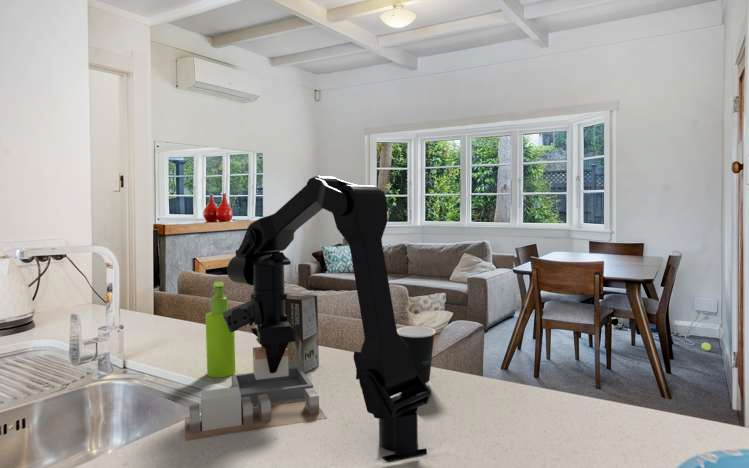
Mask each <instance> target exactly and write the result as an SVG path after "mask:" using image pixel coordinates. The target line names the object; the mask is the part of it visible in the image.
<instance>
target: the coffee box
mask: <svg viewBox="0 0 749 468" xmlns="http://www.w3.org/2000/svg"><path fill="white" fill-rule="evenodd" d="M285 293H286V294H287V300H285V314H286V315H287V321H286V322H287V323H288V324H289V325H291V326H292V327H293V328H294V329H295V331H296V341H294V342H289V344H288V346H287V349H288V368H296V367H300V368H301V369H302V371H303V372H304V373H306V372H309V371H310V370H313V369H315V368H316V367H319V366H320V357H319V356H320V354H319V353H320V352H319V349H320V348H319V315H318V314H319V313H318V295H315V294H314V295H313V294H302V293H291V292H285Z"/></svg>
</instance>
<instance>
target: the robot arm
mask: <svg viewBox="0 0 749 468" xmlns="http://www.w3.org/2000/svg"><path fill="white" fill-rule="evenodd" d="M322 210H325V211H328V212H330V213H332V215H333V218H334V219H333V220H334V222H335V227H336V229H337V231H338V232H339V233H340V234H341V236H342V237H343V238H344V240H345V241H346V243H347V244H348V246H349V250H350V256H351V262H352V267H353V274H354V279H355V286H356V293H357V299H358V305H359V310H360V317H361V323H362V329H363V334H364V335H363V336H364V339H363V344H362V347H361V349H359V350H355V351H354V352H353V361H354V365H355V373H356V374H355V379H356V380H358V381H359V385H360V388H361V392H362V396H363V400H364V404H365V408H366V412H367V413H369V414H371V415H372V416H373V418H375V419H378V444H379V446H380V447H381V448H382V449H384V450H386V451H388V452H393V454H388V455H384V456H382V458H383V460H384V461H385V462H393V461H398V460H404V459H407V458H408V459H409V458H413V457H417V456H423V455H427V453H428V451H427V450H428V449H427V448H426V447H425V448H420V449H418V445H419V444H418V442H419V441H418V437H419V436H418V433H419V432H418V427H419V425H418V423H419V420H418V414H419V413H418V410H419V407H422V406H424V405H427V404H429V401H430V398H431V395H432V391H431V390H430V389H429V387H428V386H427V385H426V384H425V382H424V381H423V379H422V378H421V376H420V375H419V373H418V372H417V370H416V369H415V365H414V362H413V359H412V355H411V352H410V349H409V347H408V346H407V345H406V344H405V342H404V341H403V340H402V338H401V337H400V336H399V334H398V333H397V329H398V328H397V324H396V318H395V311H394V307H393V300H392V295H391V288H390V282H389V278H388V277H389V276H388V270H387V265H386V258H385V254H384V247H383V241H382V239H383V236H384V233H385V230H386V227H387V224H388V203H387V197H386V194H385V192H384V190H381V188H379V186H376V185H374V184H373V185H369V184H368V185H366V184H355V183H352V182H347V181H345V180H341V179H339V178H337V177H335V176H322V175H321V176H320V175H316V176H313V177H310V178H309V179H308V181H307V182H306V185H305V186H304V187H302V188H301V189H300V190H299V191H298V192H297V193H296V194H294V195H293V196H292V197H291V198H290V199H289V200H287V202H285V204H283V205H282V206H281V207H279V208H278V210H277V211H275V213H272V214H269V215H267V216H263V217H260V218H259V219H256V220H254V221H252V222H251V223H250V224H249V225H248V226H247V229H246V232H245V234H244V236H243V239H242V242H241V244H240V245H239V247H238V249H235V256H233V257H232V258H231V259H230V260H229V262H228V264H227V267H226V273H227V276H228V278H229V280H231V281H232V282H233V283H236V284H241V285H247V286H253V292H251V293H252V294H250V301H246V302H245V303H241V304H238V305H237V306H235V307H232V308H228V310H227V311H225V312H223V313H222V314H223V317H224V319H225V322H226V324H227V326H228V329H229V331H230V332H234V333H235V332H236V331H238V330H239V329H241V328H242V327H245V326H247V325H248V326H249V327H252V326H253V325H254V327H253V328H250V331H251V332H252V334H253V335H255V336H256V337H257V338H256V339H255V341H257V343H258V344H259V345H260V347H265V352H266V357H267V362H268V367H269V371H270V373H276V371H277V369H278V366H279V364H280V362H281V359H282V357H283V355H284V352H285V350H286V348H287V346H288V344H289V342H294V341H296V331H295V329H294V328H293V327H292V326H291V325H289V324H288V323H287V322H286V321H287V315H286V314H285V300H287V294H286V293H287V292H285V266H288V265H291V260H290V259H289V257H287V256H286V254H284V252H283V251H285V250H286V249H287V248H288V247H289V245H290V244H292V242H293V241H294V238H295V233H296V231H297V230H299V229H300V228H301V227H302V226H303V225H305V223H307V222H308V221H309V220H311V219H312V218H313V217H314V216H316V215H317V214H318V213H319V212H320V211H322ZM394 395H395V396H394Z"/></svg>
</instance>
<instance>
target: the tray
mask: <svg viewBox="0 0 749 468" xmlns="http://www.w3.org/2000/svg"><path fill="white" fill-rule="evenodd" d="M288 372H289V376H283V377H275V378H268V379H260V380H256V378H255V376H254V374H253V372H247V373H239V374H233V375H231V387H239V390H240V393H241V398H243V397H250V399H251V402H252V405H253V406H254V405H258V395H265V394H267V396H268V398H269V400H270V402H271V403H273V402H274V403H275V402H281V401H288V400H296V399H302V398H303V399H304V398H305V389H310V388H314V384H313V383H312V382H311V380H310V379H309V377H308V376H307V375H306V372H303V371H302V369H301V368H300V367H296V368H288Z"/></svg>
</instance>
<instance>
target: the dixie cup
mask: <svg viewBox="0 0 749 468" xmlns="http://www.w3.org/2000/svg"><path fill="white" fill-rule="evenodd" d="M396 329H397V333H398V334H399V336H400V337H401V338H402V340H403V341H404V342H405V344H406V345H407V346H408V347H409V349H410V352H411V355H412V359H413V362H414V365H415V369H416V370H417V372H418V373H419V375H420V376H421V378H422V379H423V381H424V382H425V384H426V385H427V387H428V386H429V382H430V378H431V377H430V376H431V369H432V358H433V350H434V342H435V341H434V340H435V334H436V333H437V332H436V330H435V329H434V328H432V327H428V326H420V325H412V326H409V325H408V326H403V327H399V328H396Z"/></svg>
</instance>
